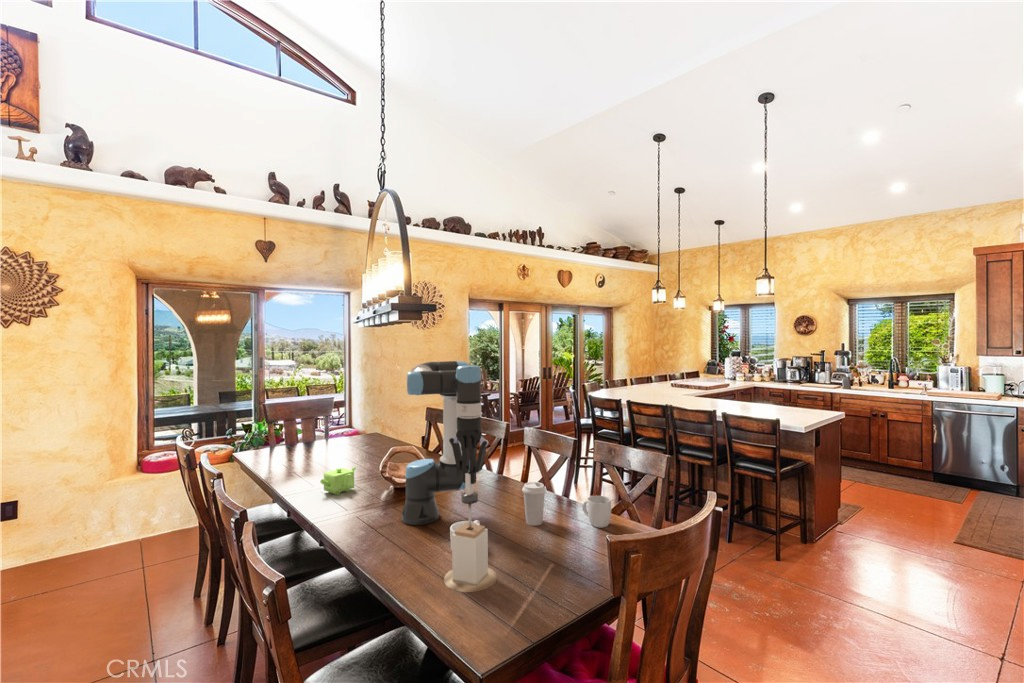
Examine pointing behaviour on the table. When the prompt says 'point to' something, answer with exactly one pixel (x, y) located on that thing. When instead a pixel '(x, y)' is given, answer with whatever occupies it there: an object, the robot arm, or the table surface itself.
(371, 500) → the table surface
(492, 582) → the trivet
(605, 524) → the mug
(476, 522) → the mug
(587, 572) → the table surface
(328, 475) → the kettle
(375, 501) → the table surface
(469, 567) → the white french press
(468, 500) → the plunger
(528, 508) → the coffee cup
